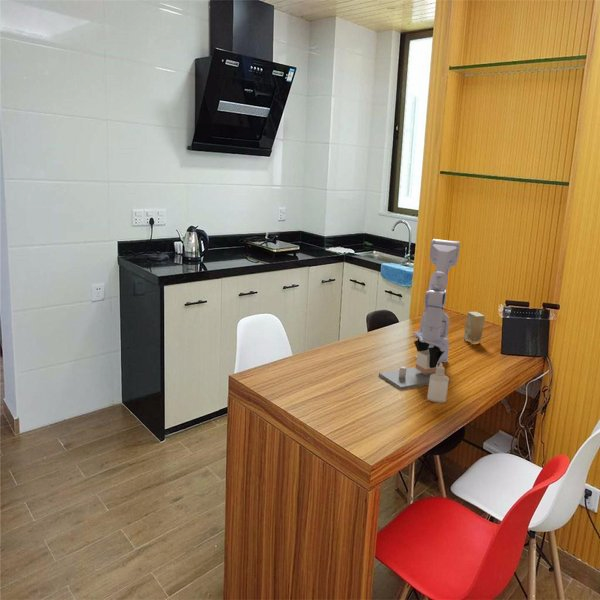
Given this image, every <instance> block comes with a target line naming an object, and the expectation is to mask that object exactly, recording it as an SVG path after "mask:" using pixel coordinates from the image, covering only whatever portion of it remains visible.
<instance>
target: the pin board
mask: <svg viewBox="0 0 600 600" xmlns="http://www.w3.org/2000/svg"><path fill="white" fill-rule="evenodd" d="M432 374H436V372H432V373H426V374H425V373H423V372H421V371H420V370H418V369H416V366H414V367H411V368H410V367H408V368H407V366H400V367H399V369H396V370H395V369H394V370H390V371H383V372H379V373H378V376H379V378H382V379H383V380H385V381H386V382H388V383H389V384H391V385H392V386H394V387H395V388H397V389H399V390H400V391H402V390H408V389H413V388H418V387H424V385H426V386H429V380H430V375H432ZM449 381H450V378H449Z"/></svg>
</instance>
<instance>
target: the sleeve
mask: <svg viewBox="0 0 600 600" xmlns="http://www.w3.org/2000/svg"><path fill="white" fill-rule="evenodd" d="M416 356H417V358H416V361H415V362H416V363H415V367H416V369H418V370H420V371H421V372H423V373H425V374H426V373H432V372H436V368H437V366H439V363H437V365H436V368H430V365H429V364H430V354H429V350H425V351H418V352H417V353H416Z"/></svg>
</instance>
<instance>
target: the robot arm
mask: <svg viewBox="0 0 600 600" xmlns="http://www.w3.org/2000/svg"><path fill="white" fill-rule="evenodd" d="M460 248H461V242H460V240H458V241H455V240H449V239H448V240H445V239H437V238H433V239H432V240H431V243H430V249H429V255H430V257H429V259H430V263H432V264H433V265H435V269H434V272H433V273H431V275H430V279H429V285H428V289H427V290H426V291H425V295H424V312H423V314H422V316H421V320H420V326H419V331H414V332H413V339H417V340H414V345H415V348H416V351H417V353H418V351H425V350H429V354H430V364H429V365H430V368H436V365H437V363H438V364H440V363H442V362H444V363H449V362H450V361H449V359H448V357H449V351H450V342H449V339H448V334H449V327H450V317H449V315H448V314H447V313H446V312H445V311H444V309H445V308H446V302H447V288H448V282H449V273H450V269H451V268H452V267H453V266H456V265H457V263H458V260H459V253H460ZM415 358H416V359H417V355H415ZM442 364H443V363H442Z"/></svg>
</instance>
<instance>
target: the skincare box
mask: <svg viewBox="0 0 600 600" xmlns="http://www.w3.org/2000/svg"><path fill="white" fill-rule="evenodd" d="M485 318H486V316H485V315H484V314H482V313H480V312H478V311H467V315H466V321H465V328H464V333H463V339H464V338H465V339H466V340H468V341H470V342H471V343H474V342H481V343H482V338H483V337H482V336H483V332H484V331H483V330H484V326H485V325H484V324H485V320H486V319H485Z"/></svg>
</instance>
